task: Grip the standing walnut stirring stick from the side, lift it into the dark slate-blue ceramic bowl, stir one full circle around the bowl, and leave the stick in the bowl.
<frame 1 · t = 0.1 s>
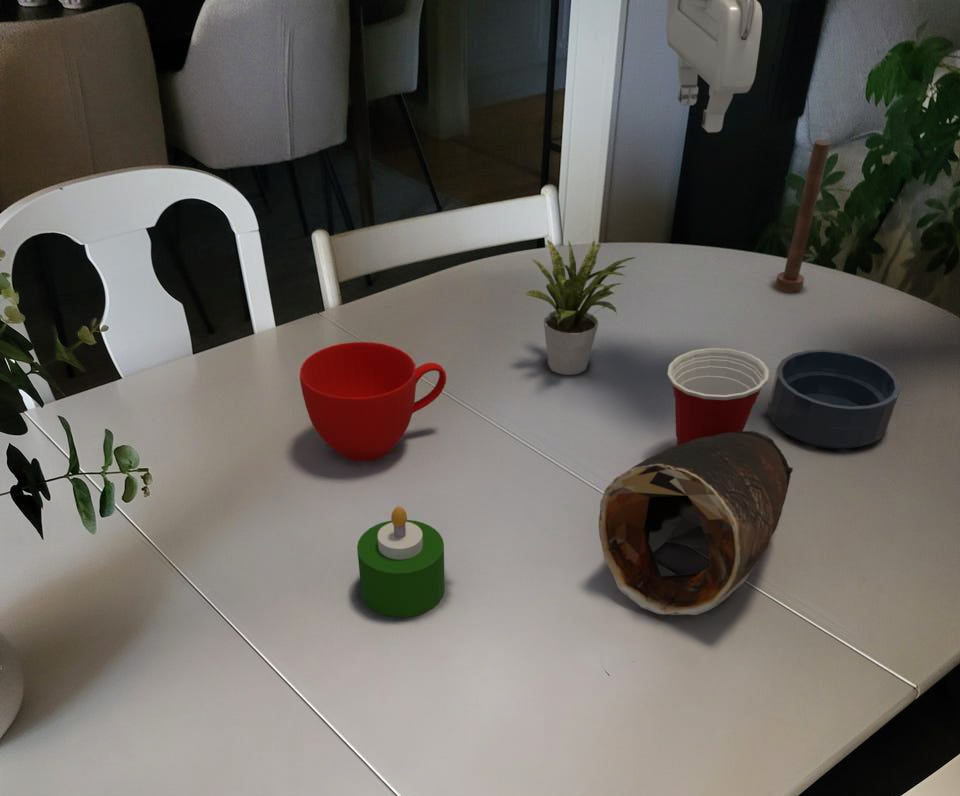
hand: (698, 116, 106), 32 cm above the table, tool pointing down, fingers open, 8 cm apart
stirring stick: (788, 287, 149), on the table
candle: (403, 590, 97), on the table
ceramic cup: (380, 443, 116), on the table
brown hollow cylinder: (705, 550, 102), on the table
house plant: (570, 371, 129), on the table
plastic cup: (699, 463, 114), on the table
bowl: (825, 421, 121), on the table
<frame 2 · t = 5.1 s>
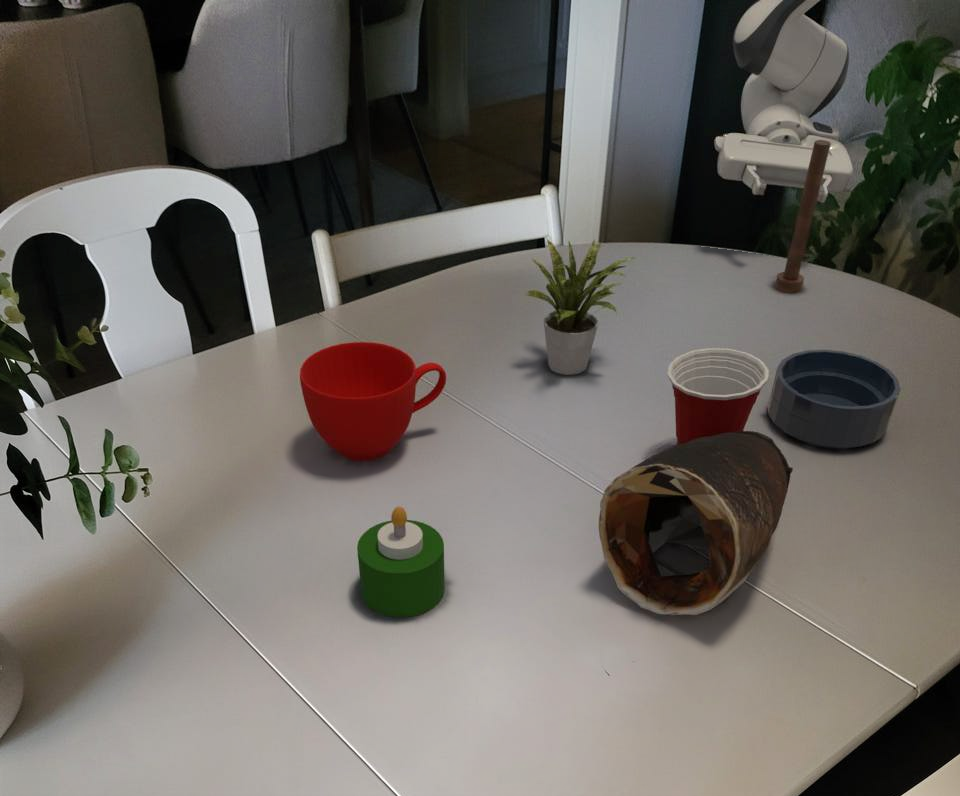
hand: (790, 194, 145), 12 cm above the table, tool horizontal, fingers open, 8 cm apart
nothing on the table moved.
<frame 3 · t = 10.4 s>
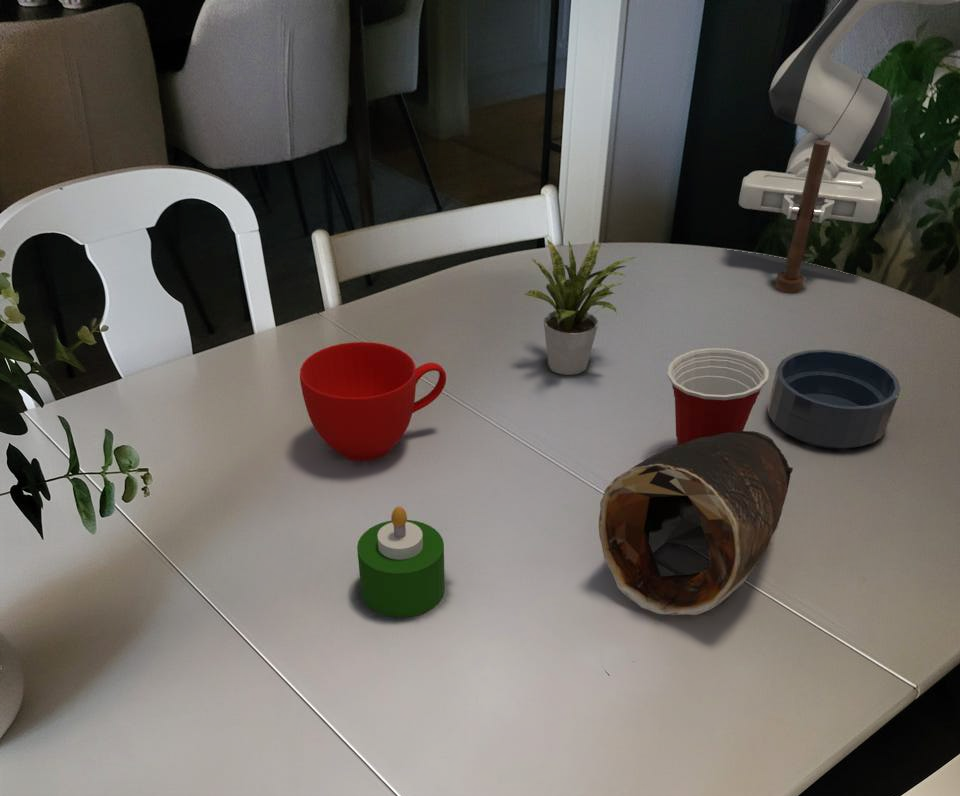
hand: (805, 215, 140), 11 cm above the table, tool horizontal, fingers closed on stirring stick, 2 cm apart
stirring stick: (788, 287, 149), on the table, touching gripper
everything else where it was.
when the fingers open (12 cm above the table, at t = 24.6 s): stirring stick stays where it is, resting on bowl.
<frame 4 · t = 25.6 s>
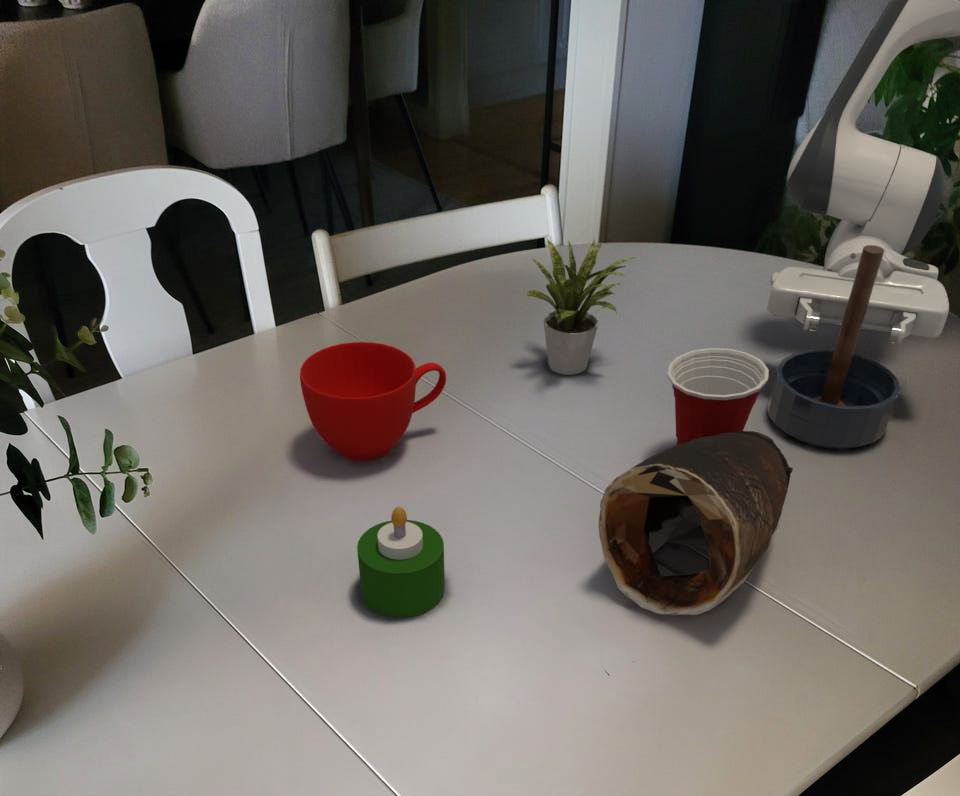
hand: (853, 331, 111), 12 cm above the table, tool horizontal, fingers open, 8 cm apart
stirring stick: (825, 415, 120), point 1 cm above the table, touching bowl
everything else where it was.
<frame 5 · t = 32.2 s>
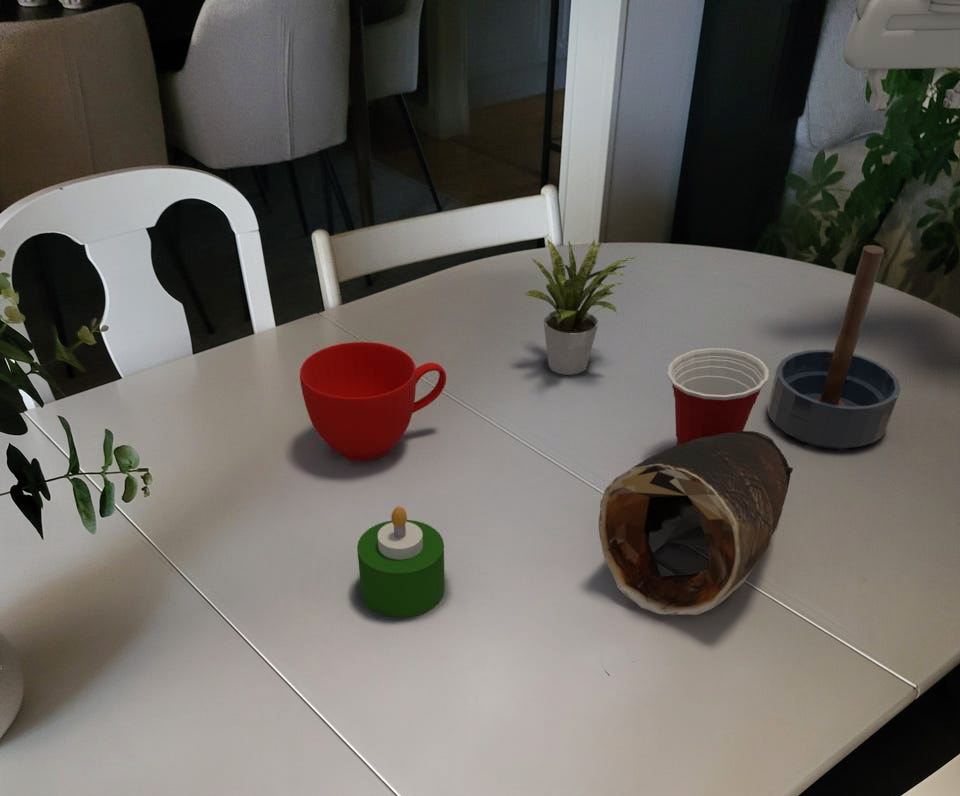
hand: (914, 108, 117), 29 cm above the table, tool pointing down, fingers open, 8 cm apart
nothing on the table moved.
at the end: stirring stick inside the target area in the bowl (0.2 cm from its centre), point 0.8 cm above the bowl's base; stirring stick moved 39.0 cm from its start; the gripper is holding nothing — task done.
